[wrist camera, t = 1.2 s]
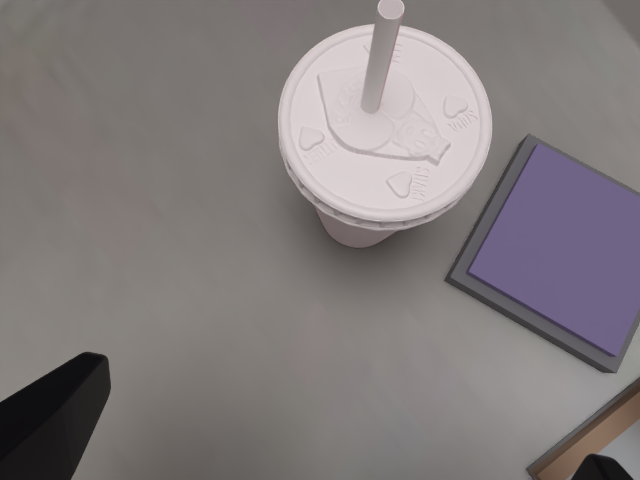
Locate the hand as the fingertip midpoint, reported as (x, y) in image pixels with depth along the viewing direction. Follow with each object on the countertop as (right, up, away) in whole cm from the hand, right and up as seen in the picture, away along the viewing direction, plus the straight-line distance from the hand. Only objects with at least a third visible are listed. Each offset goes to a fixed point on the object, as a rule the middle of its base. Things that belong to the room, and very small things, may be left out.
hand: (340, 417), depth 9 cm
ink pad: (+11, +3, +14) cm, 18 cm away
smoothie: (+1, +5, +15) cm, 16 cm away
